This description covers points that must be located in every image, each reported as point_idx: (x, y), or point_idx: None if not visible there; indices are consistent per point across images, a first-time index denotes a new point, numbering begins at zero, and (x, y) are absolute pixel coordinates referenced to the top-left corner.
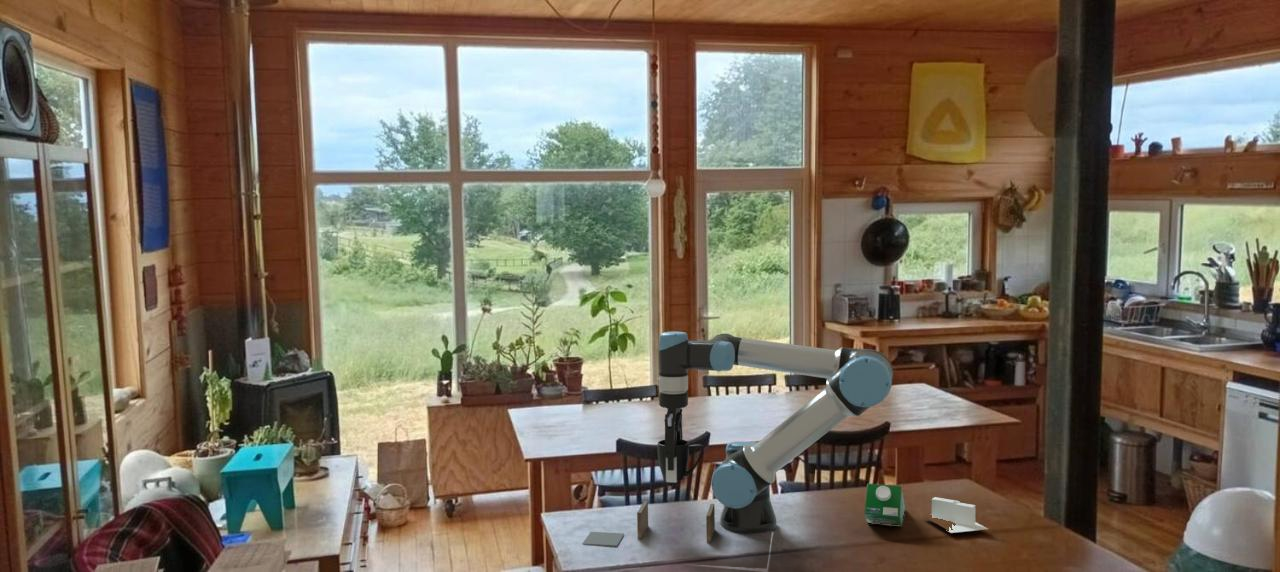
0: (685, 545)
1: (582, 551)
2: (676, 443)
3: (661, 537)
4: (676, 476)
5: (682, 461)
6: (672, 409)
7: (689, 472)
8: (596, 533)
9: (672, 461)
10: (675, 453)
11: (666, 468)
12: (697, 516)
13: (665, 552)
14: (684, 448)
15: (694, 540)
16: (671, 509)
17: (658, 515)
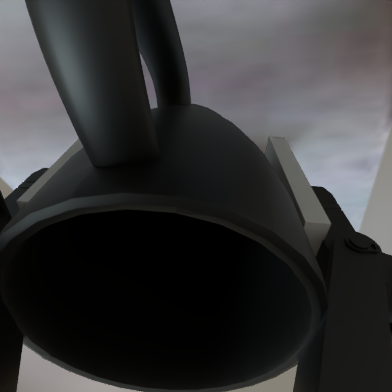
0: (288, 43)
1: None
2: (33, 273)
3: (224, 117)
4: (285, 150)
5: (264, 156)
6: None
7: (186, 77)
8: None
9: (349, 229)
10: (349, 255)
11: None
12: (30, 27)
13: (336, 96)
14: (272, 206)
15: (247, 17)
16: (6, 113)
17: (65, 140)
